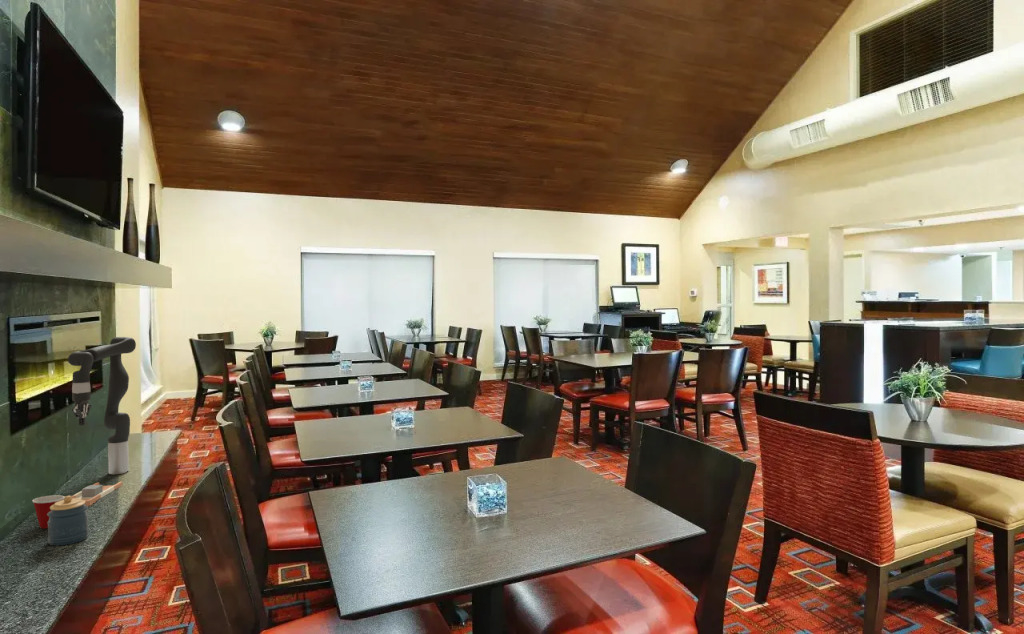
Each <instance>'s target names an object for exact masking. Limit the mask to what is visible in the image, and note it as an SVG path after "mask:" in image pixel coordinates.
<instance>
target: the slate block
mask: <svg viewBox="0 0 1024 634" xmlns="http://www.w3.org/2000/svg"><path fill="white" fill-rule="evenodd" d="M103 486H104V485H103V484H99V485H93V484H89V485H87V486H86V487H84V488H82V489H81V491H82V497H94V496H96V495H98V494H100V493H101V492H103Z"/></svg>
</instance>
